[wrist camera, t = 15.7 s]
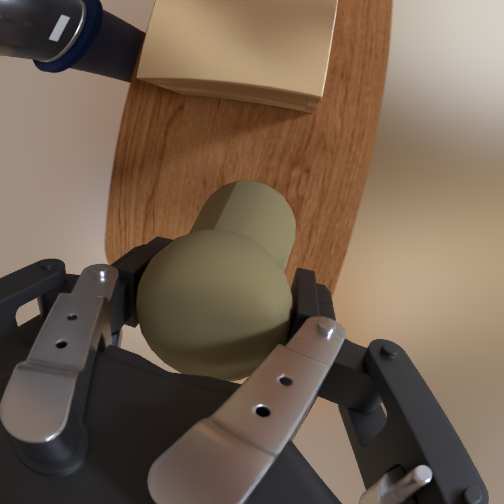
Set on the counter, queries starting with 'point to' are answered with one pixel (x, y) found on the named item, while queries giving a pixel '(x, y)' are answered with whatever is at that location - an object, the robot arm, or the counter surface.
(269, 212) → the cork
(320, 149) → the counter surface
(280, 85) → the cabinet
